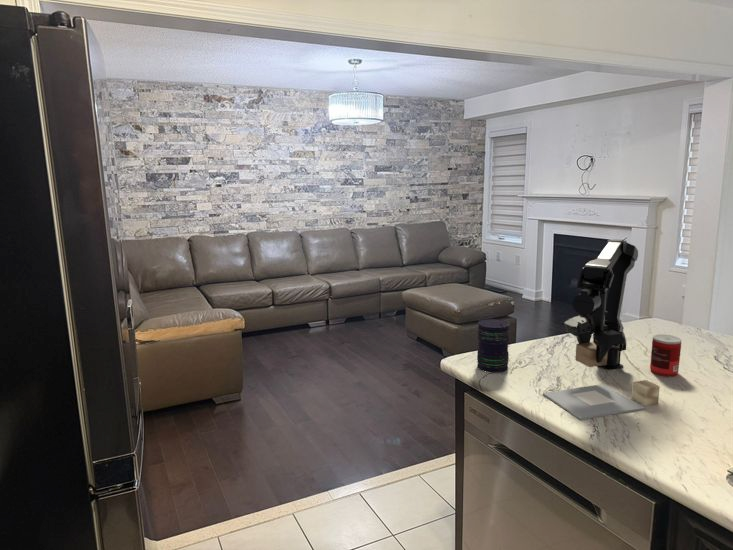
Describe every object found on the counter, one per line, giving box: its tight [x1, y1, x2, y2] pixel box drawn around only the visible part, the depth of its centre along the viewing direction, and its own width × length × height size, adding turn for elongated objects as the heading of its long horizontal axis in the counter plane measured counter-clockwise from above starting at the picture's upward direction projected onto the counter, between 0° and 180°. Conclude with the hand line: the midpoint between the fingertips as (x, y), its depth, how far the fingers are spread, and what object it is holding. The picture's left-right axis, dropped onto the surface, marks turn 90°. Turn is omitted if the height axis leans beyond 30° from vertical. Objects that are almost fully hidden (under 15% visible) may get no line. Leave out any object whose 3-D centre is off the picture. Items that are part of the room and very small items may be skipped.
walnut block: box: [575, 341, 608, 368], centre depth 148 cm, size 6×6×5 cm
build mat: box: [542, 383, 647, 421], centre depth 138 cm, size 20×16×1 cm
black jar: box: [476, 318, 510, 374], centre depth 162 cm, size 10×10×15 cm
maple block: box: [631, 379, 661, 407], centre depth 137 cm, size 4×4×5 cm
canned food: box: [649, 333, 682, 377], centre depth 156 cm, size 8×8×11 cm
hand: (591, 358), depth 149 cm, fingers closed on walnut block, 6 cm apart
